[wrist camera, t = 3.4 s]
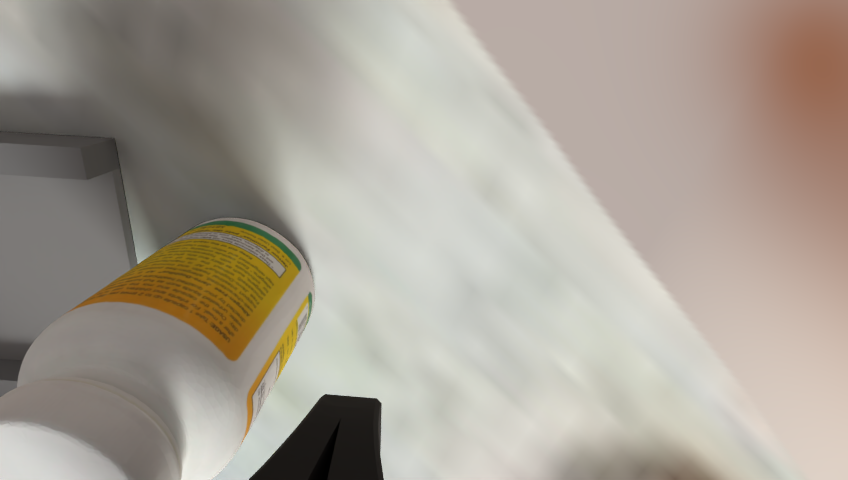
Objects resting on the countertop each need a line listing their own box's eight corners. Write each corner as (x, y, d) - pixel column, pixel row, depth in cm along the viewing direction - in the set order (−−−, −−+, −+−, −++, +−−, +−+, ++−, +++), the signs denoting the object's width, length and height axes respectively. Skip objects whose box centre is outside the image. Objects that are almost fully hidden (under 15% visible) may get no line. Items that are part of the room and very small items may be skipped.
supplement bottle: (335, 332, 19) (226, 591, 10) (206, 354, 20) (-3, 614, 11) (290, 198, 17) (105, 369, 8) (149, 228, 18) (-162, 415, 9)
